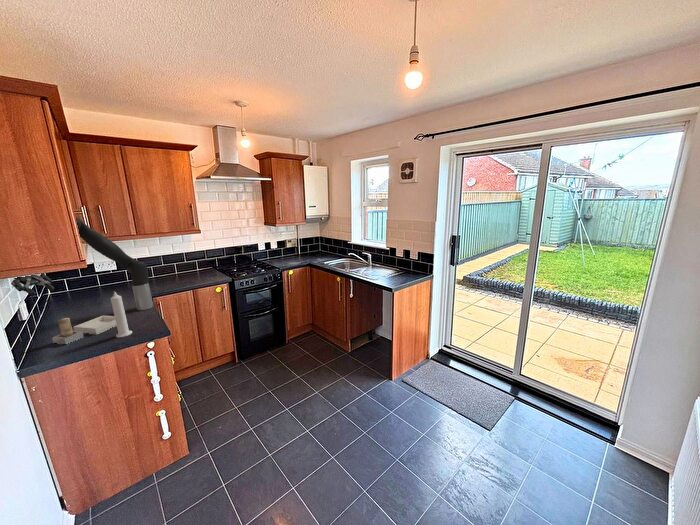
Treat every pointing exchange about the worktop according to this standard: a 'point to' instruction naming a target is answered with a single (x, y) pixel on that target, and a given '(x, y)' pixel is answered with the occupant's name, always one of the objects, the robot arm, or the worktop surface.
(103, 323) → the tray
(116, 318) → the candle
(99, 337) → the worktop surface
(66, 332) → the peg
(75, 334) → the collar
